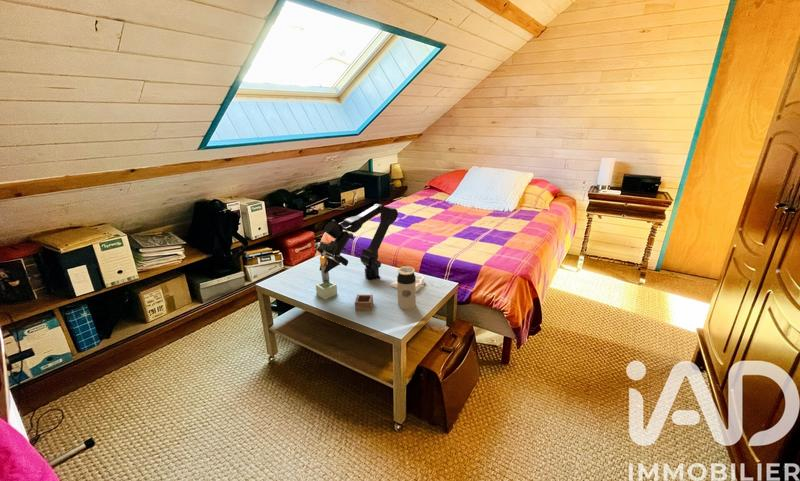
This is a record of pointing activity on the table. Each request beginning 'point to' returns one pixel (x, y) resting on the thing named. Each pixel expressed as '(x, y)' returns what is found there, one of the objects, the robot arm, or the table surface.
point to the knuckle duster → (418, 282)
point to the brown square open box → (363, 303)
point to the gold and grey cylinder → (323, 265)
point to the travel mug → (406, 288)
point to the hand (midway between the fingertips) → (322, 271)
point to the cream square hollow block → (326, 289)
